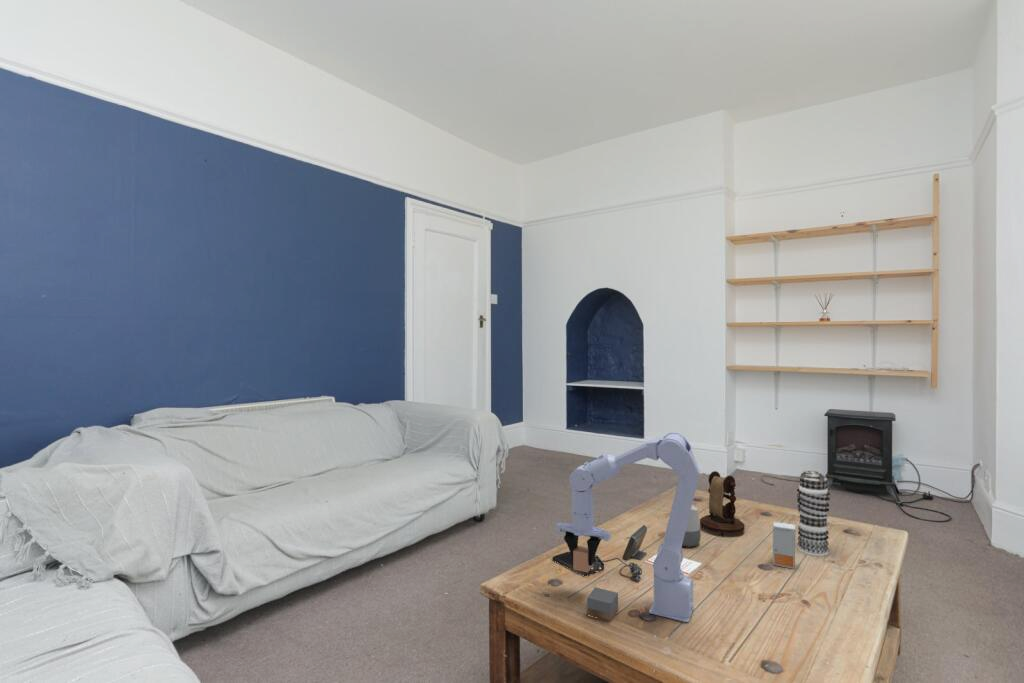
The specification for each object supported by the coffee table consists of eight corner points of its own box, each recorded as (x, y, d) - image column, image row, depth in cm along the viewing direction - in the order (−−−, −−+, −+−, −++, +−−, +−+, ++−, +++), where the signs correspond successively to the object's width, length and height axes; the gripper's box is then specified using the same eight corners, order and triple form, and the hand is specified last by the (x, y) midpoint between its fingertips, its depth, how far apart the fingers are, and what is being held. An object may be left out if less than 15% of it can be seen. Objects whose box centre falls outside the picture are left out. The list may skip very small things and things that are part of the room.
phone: (569, 551, 167) (604, 567, 155) (569, 554, 167) (604, 571, 155) (550, 557, 163) (584, 574, 150) (550, 560, 163) (584, 578, 150)
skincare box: (772, 565, 158) (772, 525, 158) (772, 560, 162) (772, 521, 161) (795, 569, 155) (795, 529, 155) (795, 564, 159) (795, 524, 159)
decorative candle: (828, 559, 162) (828, 478, 162) (794, 551, 168) (794, 473, 167) (831, 549, 169) (831, 472, 169) (799, 542, 175) (799, 467, 175)
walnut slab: (618, 612, 132) (618, 602, 132) (610, 623, 127) (610, 613, 127) (595, 606, 135) (595, 596, 135) (587, 617, 130) (587, 607, 130)
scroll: (690, 526, 191) (690, 471, 190) (721, 519, 197) (721, 466, 197) (722, 540, 177) (722, 481, 177) (754, 533, 184) (754, 476, 183)
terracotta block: (592, 566, 142) (592, 548, 142) (587, 572, 138) (587, 553, 138) (578, 563, 144) (578, 545, 144) (573, 569, 140) (573, 550, 140)
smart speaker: (704, 549, 170) (704, 506, 170) (675, 549, 170) (675, 506, 170) (695, 538, 179) (695, 497, 179) (667, 538, 180) (667, 497, 179)
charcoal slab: (618, 602, 132) (618, 592, 132) (610, 613, 127) (610, 603, 127) (595, 596, 135) (595, 587, 135) (587, 607, 130) (587, 597, 130)
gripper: (551, 512, 141) (552, 562, 141) (604, 520, 134) (604, 574, 134) (562, 504, 147) (562, 553, 147) (612, 512, 140) (612, 563, 140)
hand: (583, 562), depth 141 cm, fingers closed on terracotta block, 4 cm apart
